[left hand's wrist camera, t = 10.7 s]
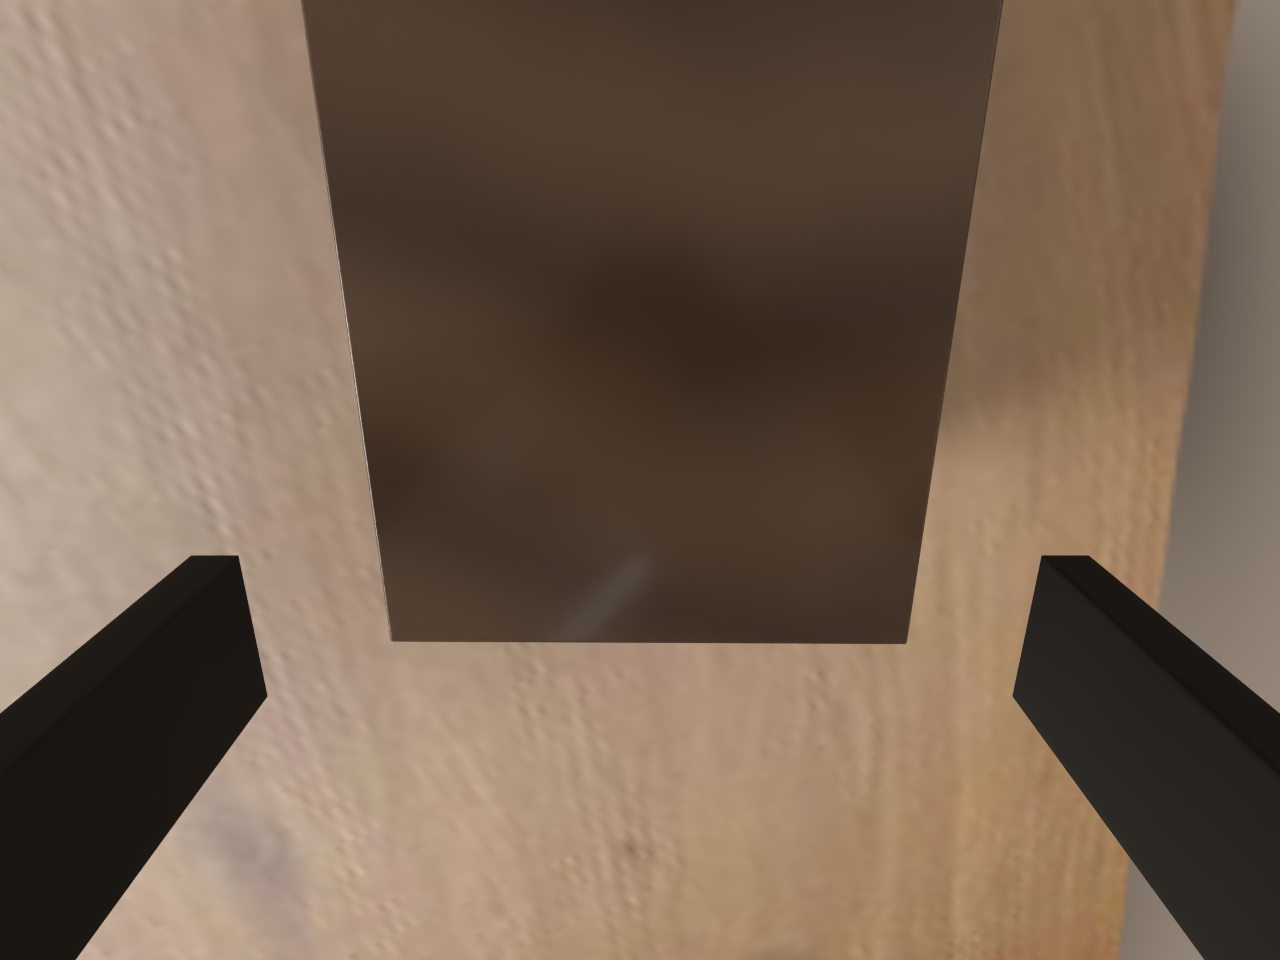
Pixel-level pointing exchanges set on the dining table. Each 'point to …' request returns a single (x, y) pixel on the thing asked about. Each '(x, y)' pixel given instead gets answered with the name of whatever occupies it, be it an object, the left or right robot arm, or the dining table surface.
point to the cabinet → (650, 304)
